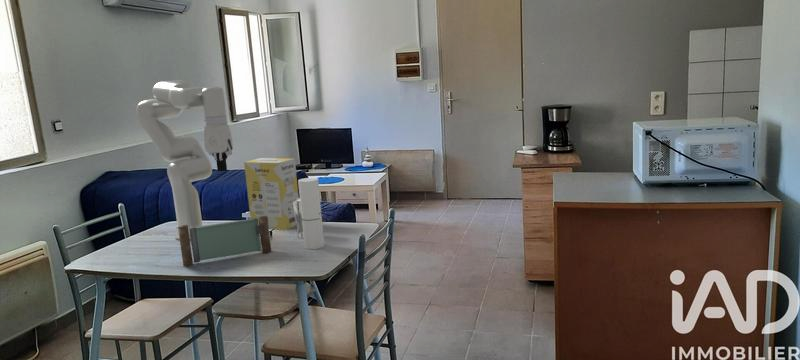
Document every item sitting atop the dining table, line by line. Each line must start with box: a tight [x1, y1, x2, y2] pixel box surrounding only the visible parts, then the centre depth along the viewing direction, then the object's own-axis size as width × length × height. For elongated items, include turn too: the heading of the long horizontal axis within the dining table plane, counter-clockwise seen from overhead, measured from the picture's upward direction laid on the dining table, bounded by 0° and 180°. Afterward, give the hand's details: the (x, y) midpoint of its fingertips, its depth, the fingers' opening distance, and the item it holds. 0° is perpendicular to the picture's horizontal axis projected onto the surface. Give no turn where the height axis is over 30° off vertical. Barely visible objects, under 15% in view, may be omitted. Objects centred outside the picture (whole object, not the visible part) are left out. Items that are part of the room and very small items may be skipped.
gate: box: [189, 218, 262, 264], centre depth 203 cm, size 23×2×12 cm, turn 111°
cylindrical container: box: [297, 177, 325, 250], centre depth 209 cm, size 7×7×25 cm
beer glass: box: [293, 197, 304, 240], centre depth 224 cm, size 7×7×15 cm
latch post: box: [256, 216, 272, 254], centre depth 207 cm, size 5×4×13 cm
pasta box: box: [243, 157, 300, 231], centre depth 243 cm, size 18×10×28 cm, turn 63°
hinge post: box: [177, 225, 194, 267], centre depth 198 cm, size 3×3×14 cm
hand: (222, 170), depth 214 cm, fingers closed
